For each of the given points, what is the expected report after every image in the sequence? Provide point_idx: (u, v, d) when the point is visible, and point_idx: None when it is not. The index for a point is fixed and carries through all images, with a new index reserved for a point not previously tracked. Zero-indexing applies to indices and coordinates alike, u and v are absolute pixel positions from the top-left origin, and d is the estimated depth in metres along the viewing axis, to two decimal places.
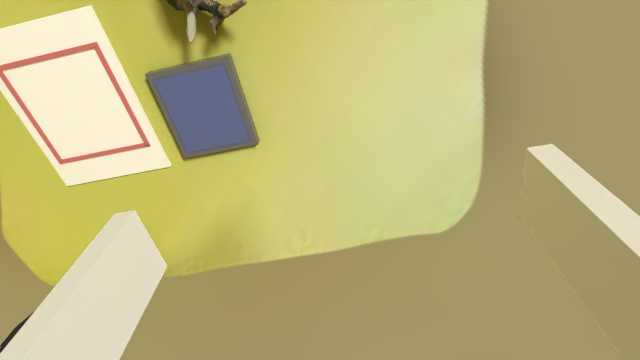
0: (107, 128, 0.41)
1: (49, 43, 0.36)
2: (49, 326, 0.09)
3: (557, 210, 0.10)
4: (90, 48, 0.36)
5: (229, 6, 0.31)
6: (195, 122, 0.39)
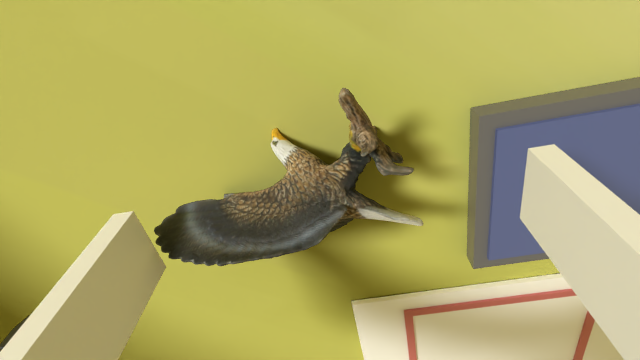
0: (542, 330, 0.24)
1: (396, 355, 0.25)
2: (46, 327, 0.09)
3: (559, 211, 0.10)
4: (411, 318, 0.23)
5: (353, 126, 0.13)
6: None
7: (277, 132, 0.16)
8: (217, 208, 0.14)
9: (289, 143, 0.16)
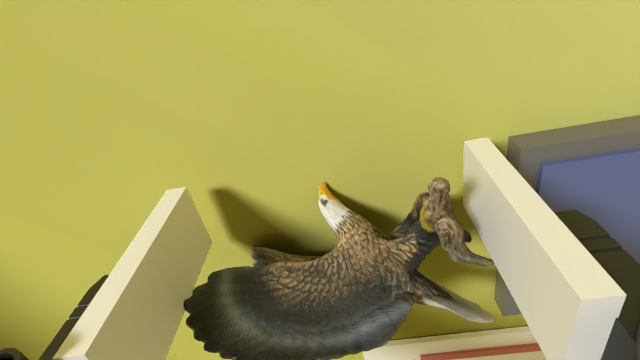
0: None
1: None
2: (128, 284, 0.09)
3: (484, 196, 0.11)
4: None
5: (431, 208, 0.11)
6: None
7: (325, 188, 0.14)
8: (256, 279, 0.12)
9: (340, 205, 0.14)
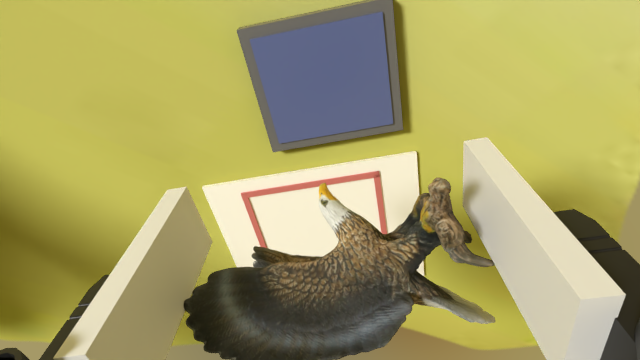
0: None
1: (248, 236, 0.33)
2: (129, 283, 0.09)
3: (484, 196, 0.11)
4: (249, 200, 0.31)
5: (431, 208, 0.11)
6: (342, 100, 0.25)
7: (326, 188, 0.14)
8: (256, 279, 0.12)
9: (341, 205, 0.14)
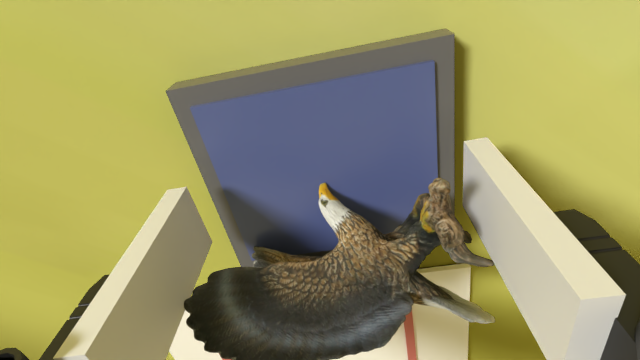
0: None
1: None
2: (129, 283, 0.09)
3: (484, 196, 0.11)
4: None
5: (431, 208, 0.11)
6: (356, 202, 0.15)
7: (326, 188, 0.14)
8: (257, 279, 0.12)
9: (341, 205, 0.14)
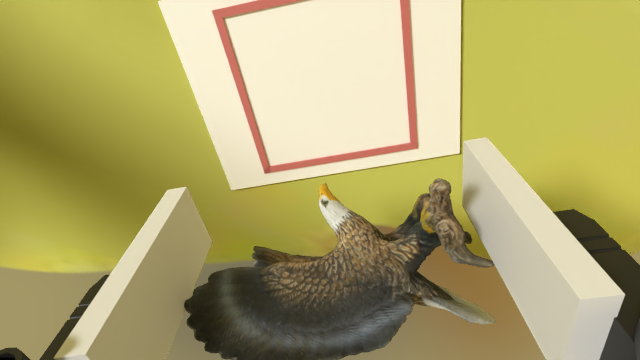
0: (362, 45, 0.23)
1: (224, 87, 0.25)
2: (129, 283, 0.09)
3: (484, 196, 0.11)
4: (224, 24, 0.22)
5: (432, 209, 0.11)
6: None
7: (326, 189, 0.14)
8: (257, 280, 0.12)
9: (341, 205, 0.14)
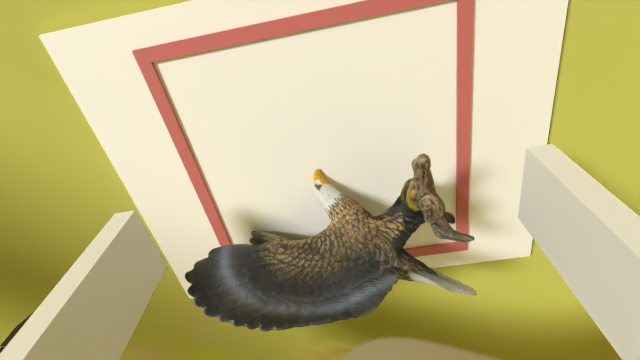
0: (389, 106, 0.14)
1: (166, 167, 0.15)
2: (49, 326, 0.09)
3: (557, 210, 0.10)
4: (156, 72, 0.13)
5: (416, 186, 0.12)
6: None
7: (320, 174, 0.15)
8: (254, 255, 0.13)
9: (333, 189, 0.15)
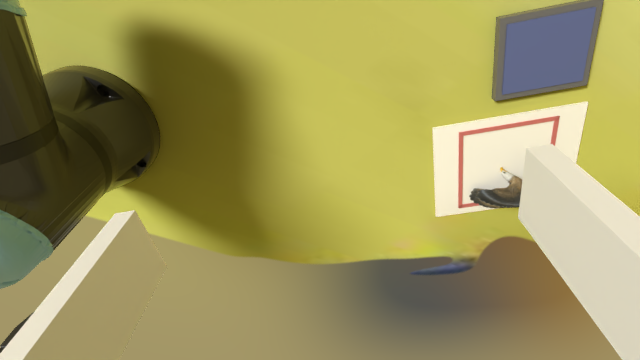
0: (529, 147, 0.46)
1: (451, 166, 0.47)
2: (49, 326, 0.09)
3: (557, 210, 0.10)
4: (462, 138, 0.45)
5: None
6: (554, 64, 0.39)
7: (502, 168, 0.47)
8: (491, 192, 0.45)
9: (509, 173, 0.46)
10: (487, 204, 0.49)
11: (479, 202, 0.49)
